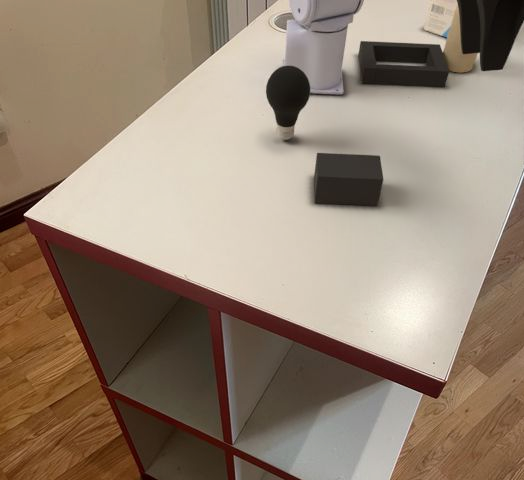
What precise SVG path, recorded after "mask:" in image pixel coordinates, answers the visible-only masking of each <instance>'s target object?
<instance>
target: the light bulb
mask: <svg viewBox="0 0 524 480" xmlns="http://www.w3.org/2000/svg"><path fill="white" fill-rule="evenodd" d="M265 88H266V89H265V95H266V96H265V97H266V100H267V103H268V104H269V106H270V108H272V110H273V112H274V117H275V122H276V125H277V126H276V136H277V137H278V138H279V139H281V140H282V141H284V142H286V141H289V140H291V139H292V138H293V137H294V135H295V127H296V126H295V125H296V123H297V121H298V118H299V114H300V113H301V111H302V110H303V109H304V108H305V107H306V105H307V104H308V102H309V99H310V95H311V93H310V83H309V80H308V78H307V76H306V75H305V73H304V72H303V71H302V70H300V69H299V68H297V67H295V66H280V67H278V68H276V69H275V70H274V71H273V72H272V73H271V74H270V76H269V78H268V79H267V82H266V85H265Z"/></svg>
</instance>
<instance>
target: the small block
mask: <svg viewBox="0 0 524 480" xmlns="http://www.w3.org/2000/svg"><path fill="white" fill-rule="evenodd" d="M383 183H384V173H383V167H382V161H381V156H380V155H373V154H353V153H352V154H351V153H334V152H333V153H330V152H316V157H315V165H314V174H313V201H314V202H313V203H314V204H325V205H326V204H327V205H328V204H329V205H346V206H347V205H348V206H369V207H378V203H379V199H380V196H381V191H382V188H383Z"/></svg>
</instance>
